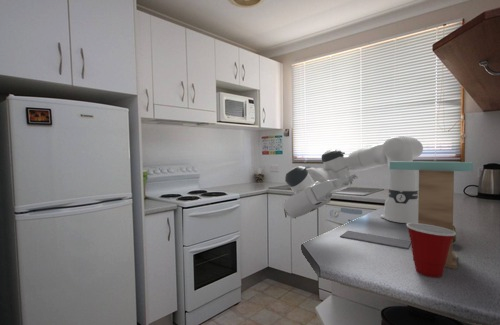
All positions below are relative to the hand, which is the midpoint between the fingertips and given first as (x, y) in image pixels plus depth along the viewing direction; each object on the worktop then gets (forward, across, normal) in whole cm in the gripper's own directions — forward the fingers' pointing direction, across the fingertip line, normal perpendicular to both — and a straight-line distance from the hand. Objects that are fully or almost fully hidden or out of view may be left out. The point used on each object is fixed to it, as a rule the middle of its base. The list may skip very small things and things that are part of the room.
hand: (352, 176), depth 94 cm
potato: (+10, -20, -32) cm, 39 cm away
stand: (+9, 0, -32) cm, 33 cm away
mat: (-7, -9, -23) cm, 25 cm away
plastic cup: (+9, +12, -32) cm, 35 cm away
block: (+21, 0, -8) cm, 22 cm away
